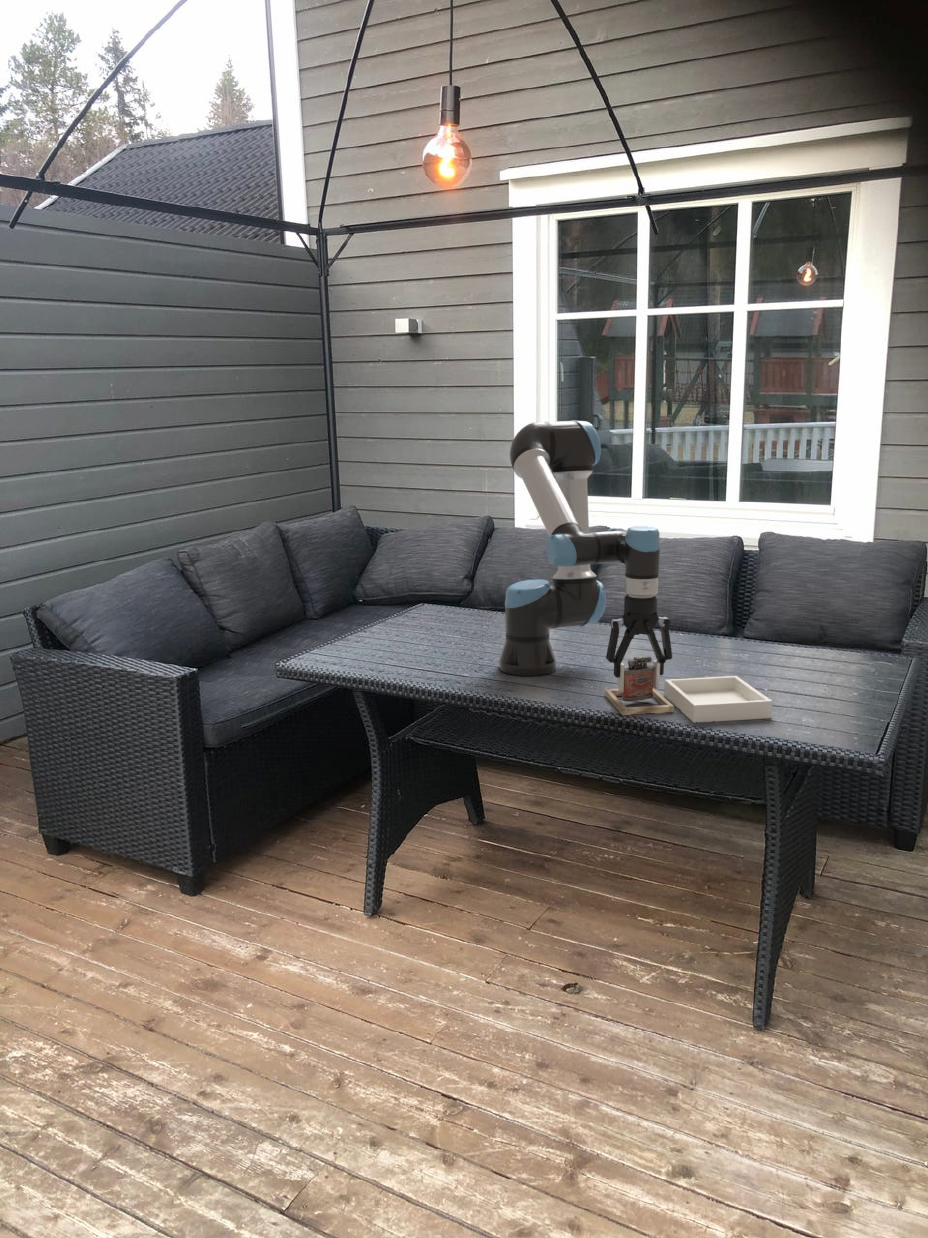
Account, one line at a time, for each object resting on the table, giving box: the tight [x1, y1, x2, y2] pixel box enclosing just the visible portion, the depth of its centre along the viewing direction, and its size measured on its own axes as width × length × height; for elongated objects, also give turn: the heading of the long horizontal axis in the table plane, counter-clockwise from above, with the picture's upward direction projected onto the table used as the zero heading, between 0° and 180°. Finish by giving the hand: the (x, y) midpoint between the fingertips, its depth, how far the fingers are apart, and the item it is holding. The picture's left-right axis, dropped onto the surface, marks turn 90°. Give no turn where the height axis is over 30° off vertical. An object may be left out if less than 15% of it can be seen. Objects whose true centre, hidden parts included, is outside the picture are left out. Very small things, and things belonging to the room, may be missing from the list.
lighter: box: [621, 655, 654, 703], centre depth 226 cm, size 8×3×10 cm, turn 113°
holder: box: [604, 688, 675, 716], centre depth 227 cm, size 12×15×2 cm
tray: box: [663, 675, 773, 724], centre depth 224 cm, size 18×20×4 cm
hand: (638, 689), depth 227 cm, fingers closed on lighter, 8 cm apart
